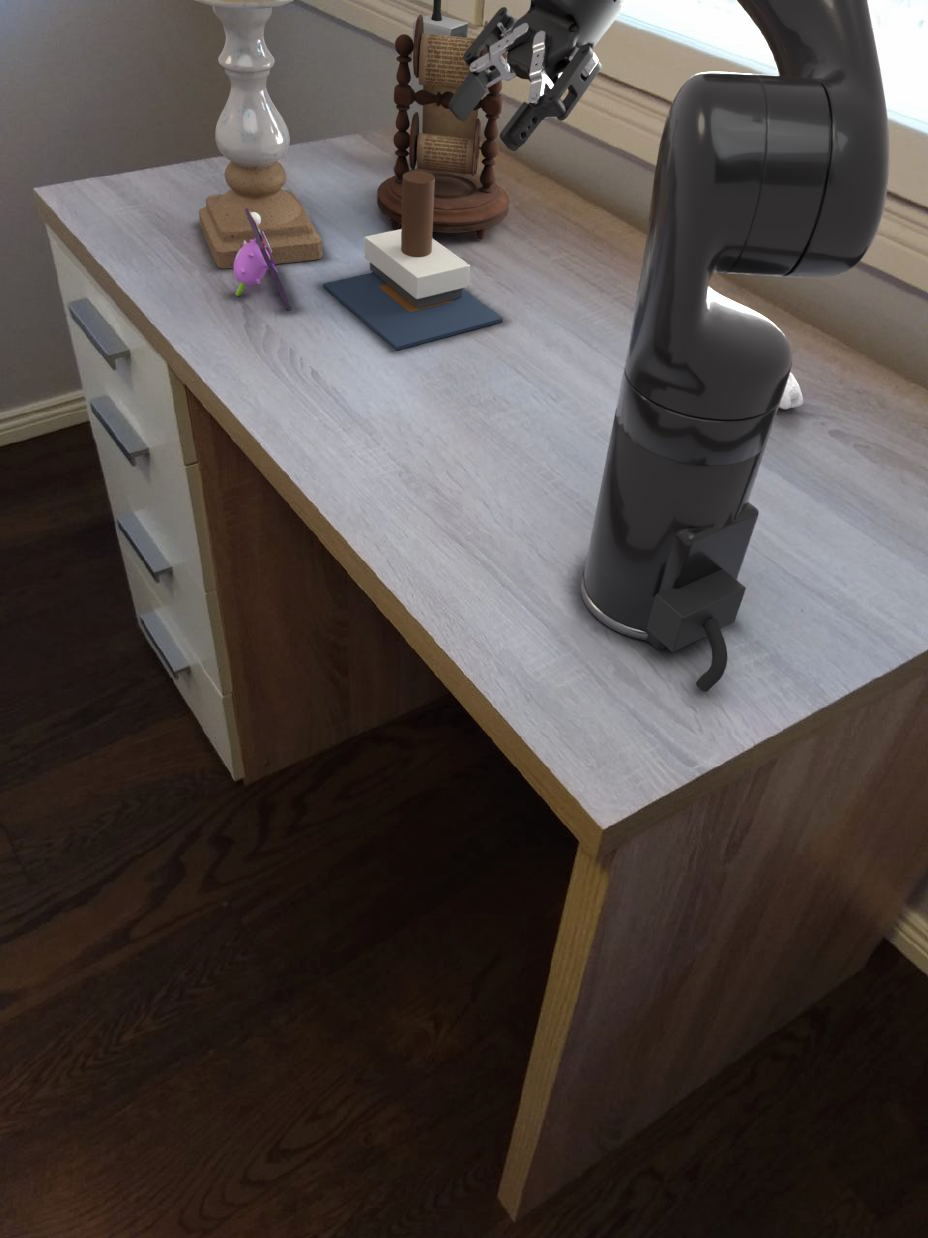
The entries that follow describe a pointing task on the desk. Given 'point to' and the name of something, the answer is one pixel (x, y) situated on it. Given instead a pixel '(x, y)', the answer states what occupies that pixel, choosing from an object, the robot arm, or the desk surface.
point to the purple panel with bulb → (255, 260)
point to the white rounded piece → (791, 394)
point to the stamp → (417, 250)
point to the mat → (408, 312)
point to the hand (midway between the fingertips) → (480, 129)
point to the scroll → (444, 137)
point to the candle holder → (253, 149)
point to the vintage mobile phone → (438, 27)
